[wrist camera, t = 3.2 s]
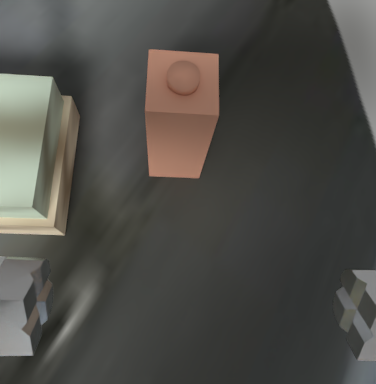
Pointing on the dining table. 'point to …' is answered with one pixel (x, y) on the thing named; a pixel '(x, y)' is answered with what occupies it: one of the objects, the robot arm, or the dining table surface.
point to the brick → (180, 111)
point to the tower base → (35, 154)
